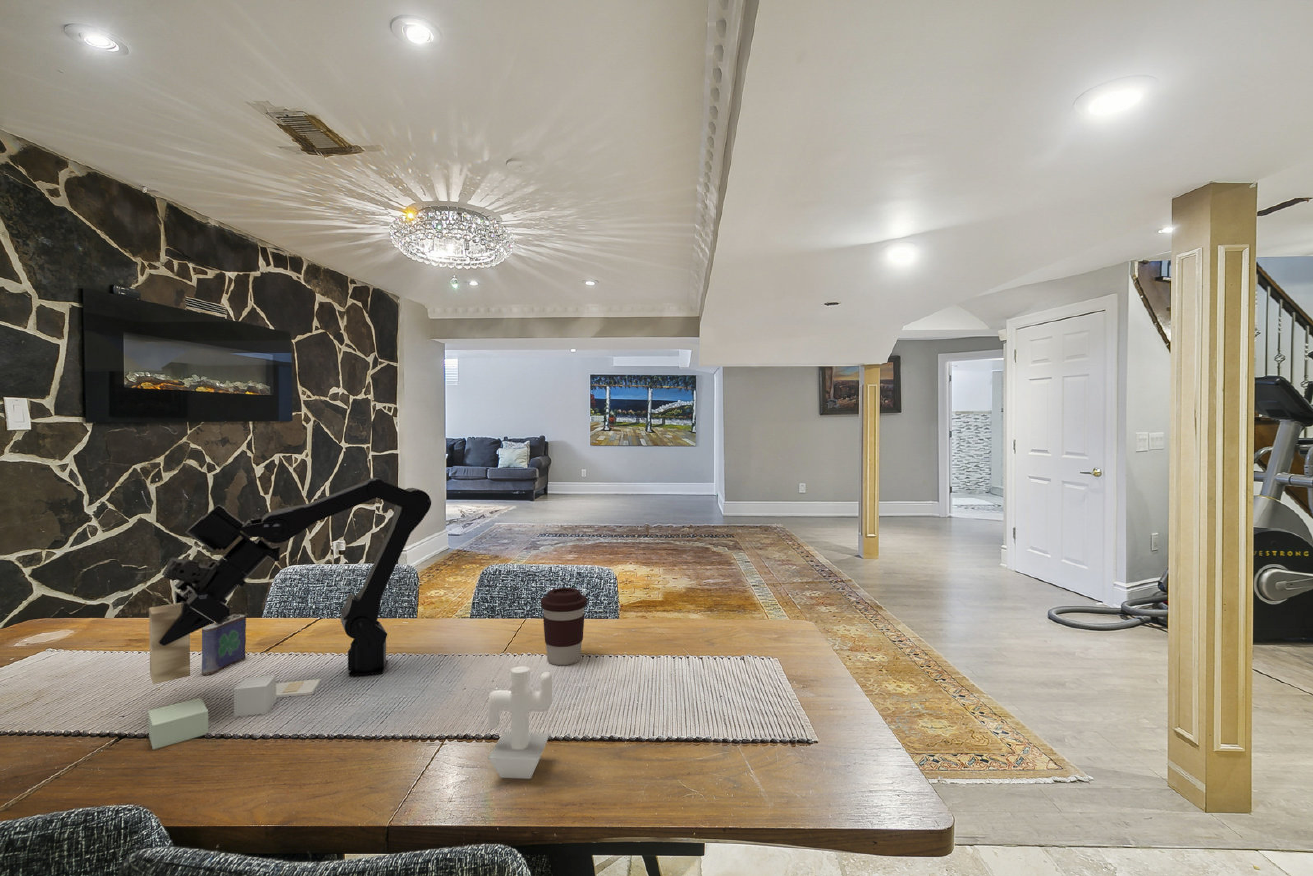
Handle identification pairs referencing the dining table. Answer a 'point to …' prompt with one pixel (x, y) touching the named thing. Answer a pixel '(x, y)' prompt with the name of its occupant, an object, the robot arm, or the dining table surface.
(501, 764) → the figurine
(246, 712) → the grey cube
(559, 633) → the coffee cup
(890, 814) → the dining table surface
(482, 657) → the dining table surface
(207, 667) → the flask
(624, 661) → the dining table surface
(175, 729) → the sage base block
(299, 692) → the card
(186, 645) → the maple pillar
